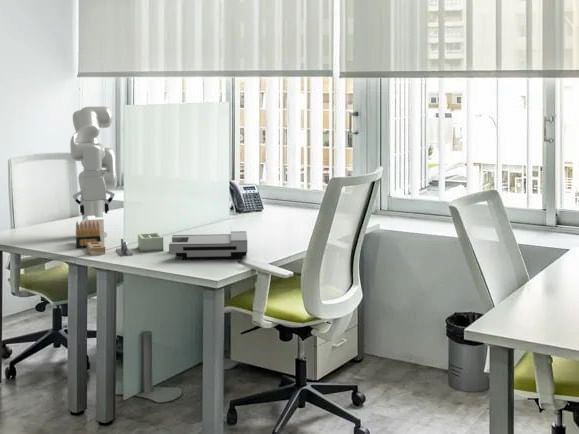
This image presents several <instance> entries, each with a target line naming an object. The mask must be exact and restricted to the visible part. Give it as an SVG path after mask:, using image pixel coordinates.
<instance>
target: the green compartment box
mask: <svg viewBox="0 0 579 434" xmlns="http://www.w3.org/2000/svg"><path fill="white" fill-rule="evenodd" d="M137 244H138V245H137V248H138V249H139V250H140V251H141V252H142V253H153V252H163V251H164V237H163V236H162V235H161V234H160V233H159V232H149V233H138V234H137Z"/></svg>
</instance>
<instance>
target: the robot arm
mask: <svg viewBox="0 0 579 434" xmlns="http://www.w3.org/2000/svg"><path fill="white" fill-rule="evenodd" d="M112 122H113V113H112V110H111V109H110V108H109V107H107V106H85V107H82V108H81V109H79V110H75V111H74V112H73V114H72V123H73V127H74V130H75V132H74V133H73V134H72V136H71V138H70V156H71V158H72V159H73V161H75V162H80V163H81V165H82V167H83V170H82V171H80V172H79V174H78V177H77V178H78V184H79V191H78V192H76V193H75V194H73V195H72V198H73V199H74V201H75V202H76V203H77V204H78V205H79V212H80V213H81V218H82V219H81V221H83V220H84V219H85V218H86V217H87V216H95V218H96V217H103V218H104V213H105V214H108V212H109V210H110V209H109V204H110V203H111V202H112V201H113V199H114V197H115V195H116V194H115V193H114V192H112V191H110V190H114V189H116V188H117V186H118V177H117V175H118V173H117V172H118V171H117V160H116V154H115V151H114V149H113V148H111V147H104V145H103V144H102V143H99V138H98V137H99V135H100V131H101V130H100V128H101V129H105V128H110V127H111V124H112ZM107 194H108V195H109V198H108V199H107ZM79 196H80V197H81V198H80V200H79V198H78V197H79ZM103 202H104V204H103ZM103 206H104V212H103ZM107 236H108V233H107V232H105V231H104V238H106V237H107Z"/></svg>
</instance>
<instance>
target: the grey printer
mask: <svg viewBox="0 0 579 434" xmlns="http://www.w3.org/2000/svg"><path fill="white" fill-rule="evenodd" d="M171 236H172V237H171V241H170V242H169V244H168V253H169V254H175V258H181V261H211V260H212V261H217V260H218V261H223V260H224V261H225V260H230V261H231V260H233V261H235V260H239V259H240V260H242V259H243V257H247V256H248V236H247V231H242V230H241V231H230V234H229V233H227V234H173V235H171Z"/></svg>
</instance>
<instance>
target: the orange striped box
mask: <svg viewBox="0 0 579 434" xmlns="http://www.w3.org/2000/svg"><path fill="white" fill-rule="evenodd" d="M81 221H82V220H81ZM85 221H86V223H87V230H88V224H89V221H90V223H91V229H92V227H93V221H94V222H95V228H96V230H97V221H99V227H100V237H101V242H102V244H103V245H104V246H105V237H104V232H105V226H104V221H105V220H104V216H103V217H96V218H95V216H87V217H86V218H85V219H84V220H83V221H82V224H83V230H84V223H85ZM78 224H79V231H80V223H78ZM96 236H97V234H96ZM96 241H97V239H96ZM92 242H93V239H92Z"/></svg>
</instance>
